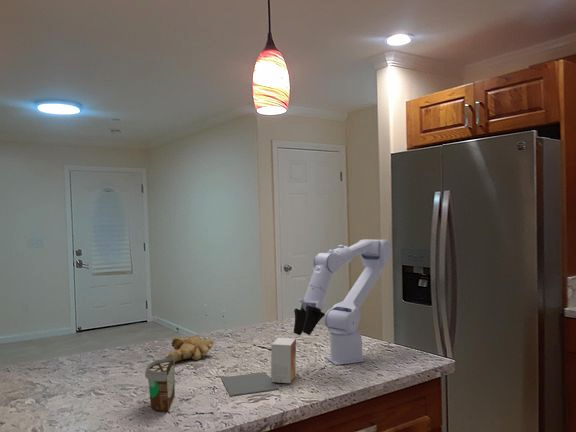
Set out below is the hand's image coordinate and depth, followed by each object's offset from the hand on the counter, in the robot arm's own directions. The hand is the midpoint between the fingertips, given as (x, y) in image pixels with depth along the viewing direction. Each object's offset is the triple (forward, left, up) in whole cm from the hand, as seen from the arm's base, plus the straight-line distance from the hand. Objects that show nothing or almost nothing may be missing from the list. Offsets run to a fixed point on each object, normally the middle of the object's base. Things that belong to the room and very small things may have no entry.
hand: (301, 333), depth 134 cm
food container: (+40, +7, -12) cm, 42 cm away
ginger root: (+29, -31, -12) cm, 44 cm away
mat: (+16, +1, -12) cm, 20 cm away
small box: (+6, +1, -12) cm, 13 cm away
